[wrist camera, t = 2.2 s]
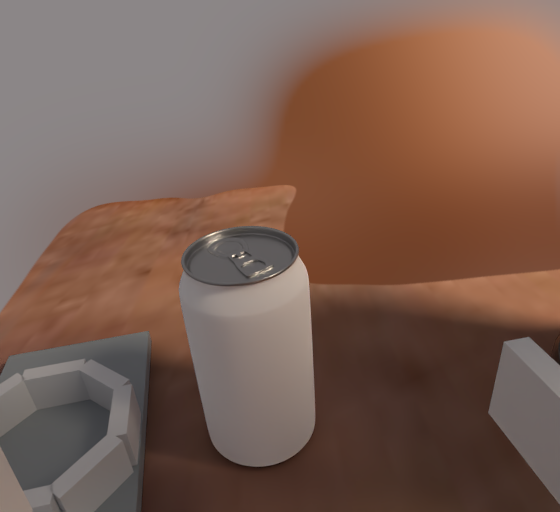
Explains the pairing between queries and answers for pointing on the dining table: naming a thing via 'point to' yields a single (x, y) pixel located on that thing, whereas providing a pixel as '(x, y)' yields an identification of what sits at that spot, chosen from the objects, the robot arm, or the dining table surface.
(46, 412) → the socket plate
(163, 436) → the dining table surface
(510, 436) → the robot arm
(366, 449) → the dining table surface
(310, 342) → the can
